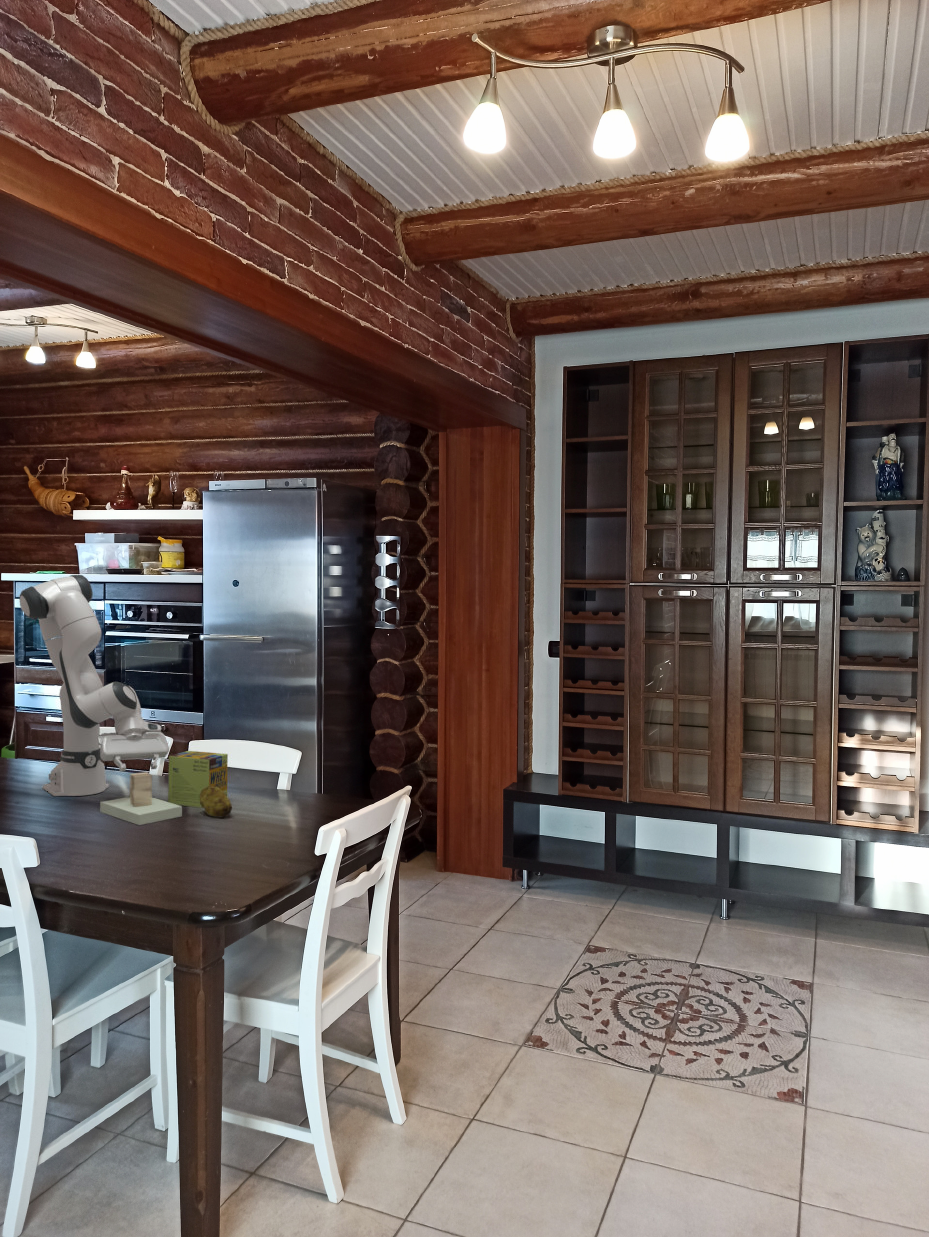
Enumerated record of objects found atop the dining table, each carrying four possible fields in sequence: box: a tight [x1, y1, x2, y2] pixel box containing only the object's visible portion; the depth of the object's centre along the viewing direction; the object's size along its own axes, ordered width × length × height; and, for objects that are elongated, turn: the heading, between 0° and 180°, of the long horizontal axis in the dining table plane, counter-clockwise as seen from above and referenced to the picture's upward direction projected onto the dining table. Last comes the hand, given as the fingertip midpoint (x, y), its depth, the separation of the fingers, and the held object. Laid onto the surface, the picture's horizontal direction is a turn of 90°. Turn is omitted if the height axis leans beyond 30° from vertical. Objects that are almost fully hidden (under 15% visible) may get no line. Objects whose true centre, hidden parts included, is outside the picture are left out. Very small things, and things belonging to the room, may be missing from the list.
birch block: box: [129, 771, 153, 807], centre depth 274 cm, size 5×5×9 cm
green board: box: [99, 796, 183, 826], centre depth 274 cm, size 22×14×3 cm, turn 50°
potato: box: [199, 786, 233, 818], centre depth 276 cm, size 8×13×8 cm, turn 26°
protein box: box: [167, 750, 228, 809], centre depth 290 cm, size 10×15×16 cm
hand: (138, 769), depth 278 cm, fingers open, 8 cm apart
